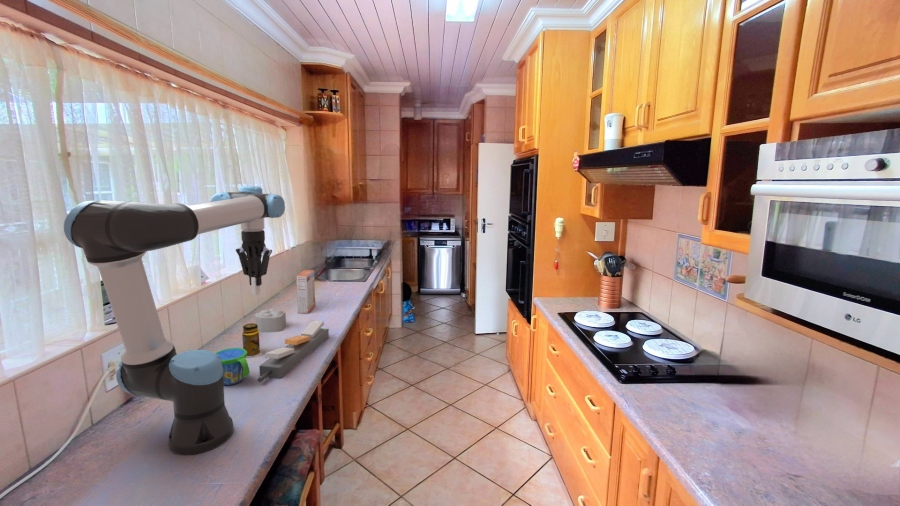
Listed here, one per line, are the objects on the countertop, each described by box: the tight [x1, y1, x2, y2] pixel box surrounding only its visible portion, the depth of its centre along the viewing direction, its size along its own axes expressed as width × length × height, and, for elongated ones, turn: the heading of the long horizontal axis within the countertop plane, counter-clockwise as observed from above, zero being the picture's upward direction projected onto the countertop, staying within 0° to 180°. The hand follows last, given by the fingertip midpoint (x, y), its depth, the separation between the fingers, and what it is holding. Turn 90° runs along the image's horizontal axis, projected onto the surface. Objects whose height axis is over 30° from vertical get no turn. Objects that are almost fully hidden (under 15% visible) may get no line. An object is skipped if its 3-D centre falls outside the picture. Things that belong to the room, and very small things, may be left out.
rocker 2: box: [284, 334, 310, 345], centre depth 164 cm, size 11×5×2 cm, turn 172°
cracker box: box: [295, 269, 316, 314], centre depth 220 cm, size 14×6×21 cm, turn 3°
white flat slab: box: [300, 319, 325, 338], centre depth 176 cm, size 11×5×2 cm, turn 172°
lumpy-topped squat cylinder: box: [254, 308, 287, 333], centre depth 192 cm, size 10×13×9 cm
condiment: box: [241, 322, 263, 358], centre depth 163 cm, size 7×8×12 cm
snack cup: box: [215, 347, 251, 386], centre depth 141 cm, size 16×10×10 cm
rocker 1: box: [265, 347, 294, 359], centre depth 151 cm, size 11×5×2 cm, turn 172°
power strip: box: [257, 327, 330, 383], centre depth 162 cm, size 46×8×4 cm, turn 172°
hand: (256, 294), depth 148 cm, fingers closed
